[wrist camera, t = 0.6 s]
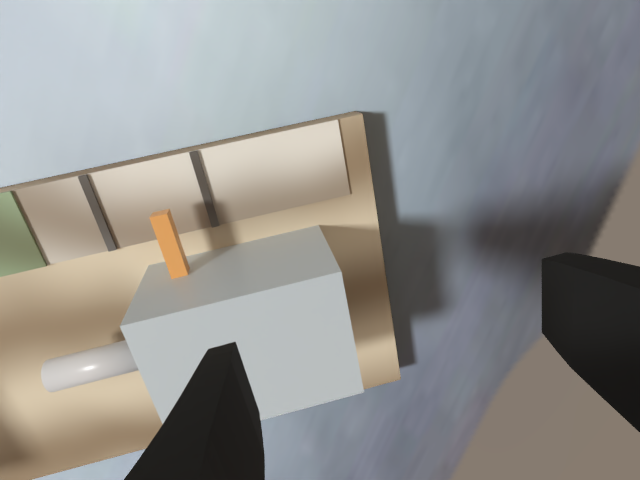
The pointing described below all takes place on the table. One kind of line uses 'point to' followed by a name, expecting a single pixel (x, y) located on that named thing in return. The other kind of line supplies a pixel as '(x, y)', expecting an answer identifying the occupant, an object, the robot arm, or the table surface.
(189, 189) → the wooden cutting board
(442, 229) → the table surface
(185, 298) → the light grey block
